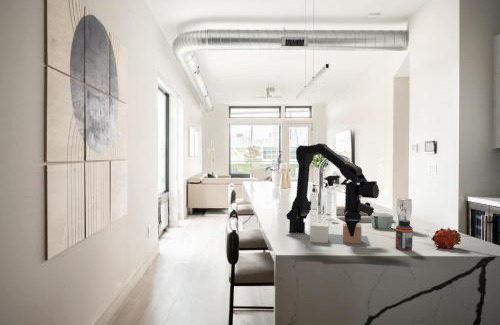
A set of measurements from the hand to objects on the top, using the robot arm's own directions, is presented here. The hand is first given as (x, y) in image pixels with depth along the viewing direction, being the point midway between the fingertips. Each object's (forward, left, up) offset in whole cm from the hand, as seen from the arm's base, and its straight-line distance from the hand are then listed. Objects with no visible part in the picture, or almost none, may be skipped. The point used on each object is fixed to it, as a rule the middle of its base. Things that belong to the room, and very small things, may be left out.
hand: (351, 234), depth 170 cm
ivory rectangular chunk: (-13, -3, -3) cm, 14 cm away
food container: (+16, +42, -4) cm, 45 cm away
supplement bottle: (+19, -9, -3) cm, 21 cm away
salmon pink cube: (0, 0, -3) cm, 3 cm away
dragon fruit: (+36, 0, -3) cm, 36 cm away
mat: (-5, +2, -3) cm, 6 cm away
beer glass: (+26, +38, -3) cm, 46 cm away
